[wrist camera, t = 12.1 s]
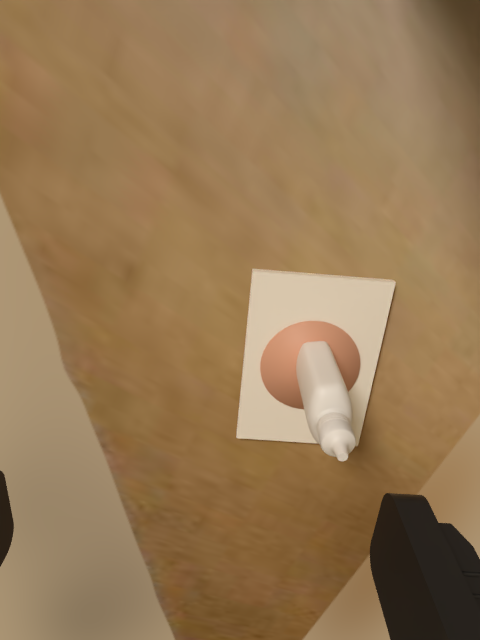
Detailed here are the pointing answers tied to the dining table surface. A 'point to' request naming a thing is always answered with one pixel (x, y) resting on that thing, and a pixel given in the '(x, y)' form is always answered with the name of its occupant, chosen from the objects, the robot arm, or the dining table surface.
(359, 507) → the dining table surface
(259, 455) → the dining table surface
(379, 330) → the card
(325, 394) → the eye dropper bottle
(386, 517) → the robot arm
